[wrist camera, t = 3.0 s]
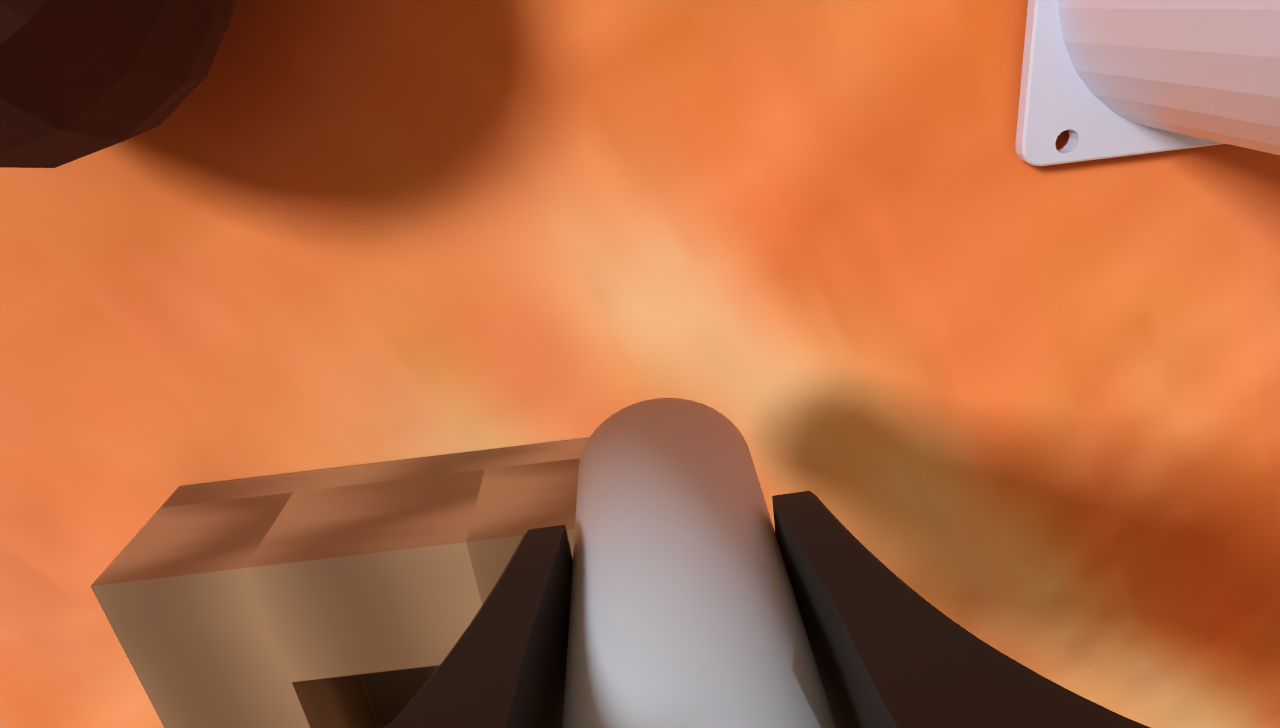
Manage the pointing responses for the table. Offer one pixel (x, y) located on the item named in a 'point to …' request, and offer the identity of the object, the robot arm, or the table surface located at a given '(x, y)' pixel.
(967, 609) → the table surface
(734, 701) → the dowel
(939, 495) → the table surface
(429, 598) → the walnut block
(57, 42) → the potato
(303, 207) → the table surface
